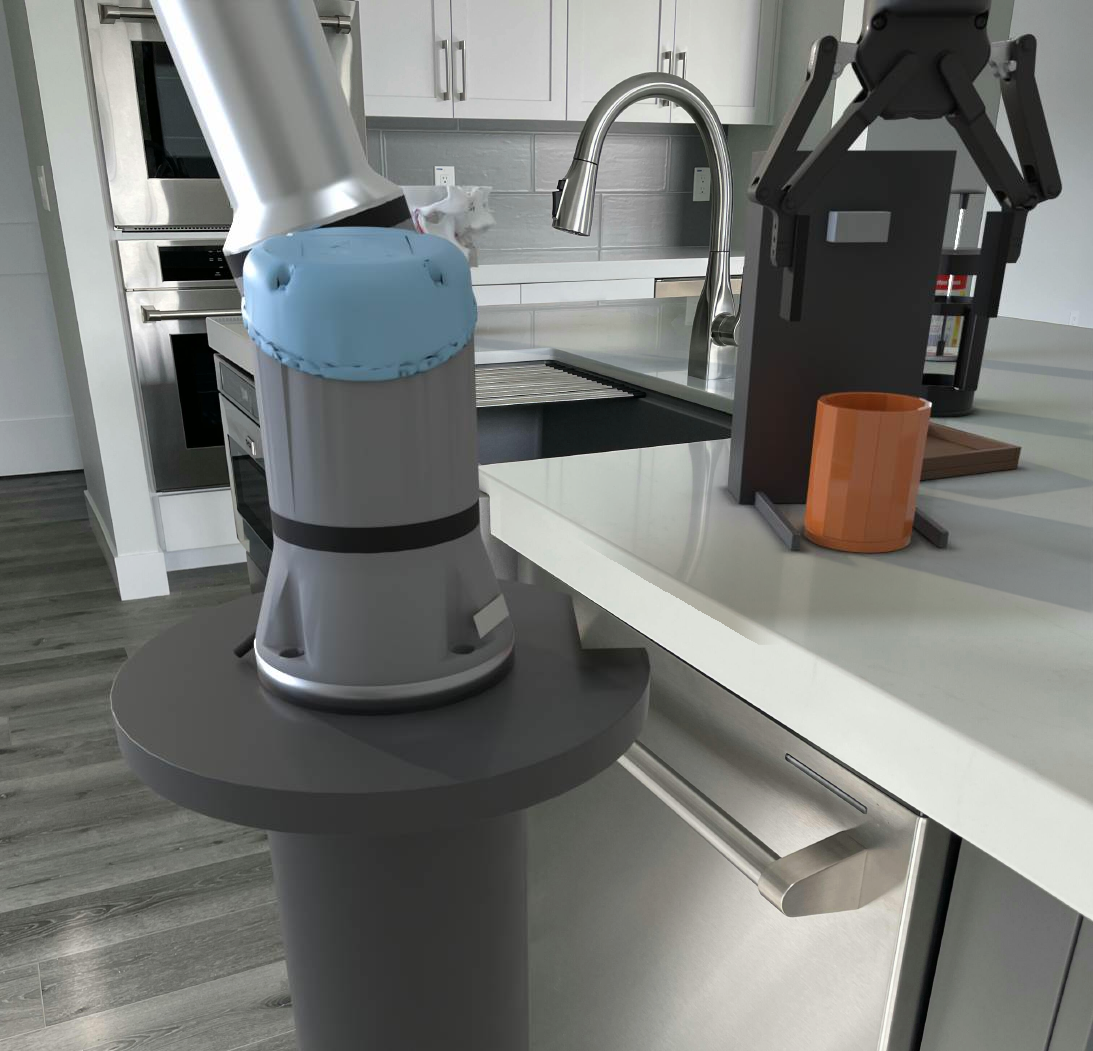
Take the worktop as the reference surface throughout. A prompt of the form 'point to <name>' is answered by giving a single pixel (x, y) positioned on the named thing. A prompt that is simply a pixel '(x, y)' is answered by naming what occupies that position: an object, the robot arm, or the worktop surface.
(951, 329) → the canned food
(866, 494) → the cup
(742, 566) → the worktop surface
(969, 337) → the french press
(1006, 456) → the tray
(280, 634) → the robot arm
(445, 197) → the skull
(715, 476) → the worktop surface
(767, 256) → the standing panel with handle
